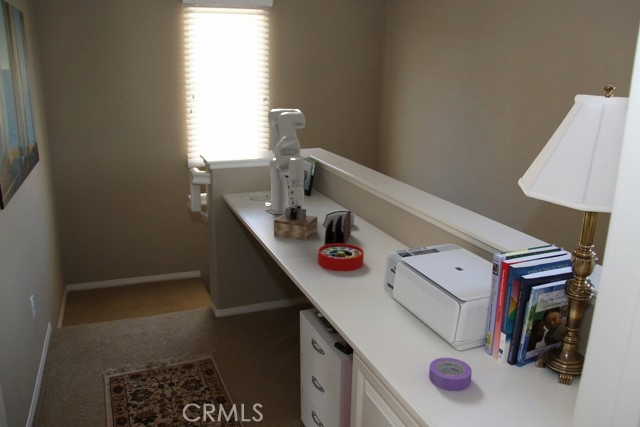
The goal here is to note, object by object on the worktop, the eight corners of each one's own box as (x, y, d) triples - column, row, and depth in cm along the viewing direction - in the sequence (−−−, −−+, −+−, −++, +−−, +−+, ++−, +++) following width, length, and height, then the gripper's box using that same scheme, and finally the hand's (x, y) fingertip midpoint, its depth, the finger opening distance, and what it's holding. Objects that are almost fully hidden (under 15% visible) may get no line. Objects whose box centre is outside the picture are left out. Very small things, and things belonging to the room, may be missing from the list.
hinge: (351, 222, 307) (353, 207, 302) (353, 227, 304) (356, 212, 298) (322, 224, 302) (324, 209, 297) (324, 229, 299) (326, 214, 293)
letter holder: (350, 234, 287) (351, 208, 283) (344, 247, 268) (345, 219, 264) (331, 233, 289) (332, 206, 285) (324, 245, 270) (325, 217, 266)
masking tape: (421, 381, 159) (422, 369, 158) (440, 364, 168) (441, 352, 167) (460, 396, 152) (461, 384, 151) (477, 378, 161) (478, 366, 160)
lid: (273, 222, 280) (273, 210, 278) (285, 215, 293) (285, 203, 291) (307, 226, 274) (307, 214, 272) (317, 219, 287) (317, 207, 285)
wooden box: (273, 235, 282) (273, 222, 280) (285, 228, 295) (285, 215, 293) (307, 240, 276) (307, 226, 274) (317, 232, 289) (317, 219, 287)
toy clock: (371, 255, 240) (328, 261, 233) (370, 268, 242) (328, 274, 235) (352, 241, 258) (311, 246, 251) (351, 253, 260) (311, 258, 253)
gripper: (296, 186, 269) (296, 222, 274) (309, 179, 284) (308, 214, 289) (282, 185, 271) (282, 221, 276) (295, 178, 287) (295, 212, 292)
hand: (295, 217), depth 283 cm, fingers open, 5 cm apart
